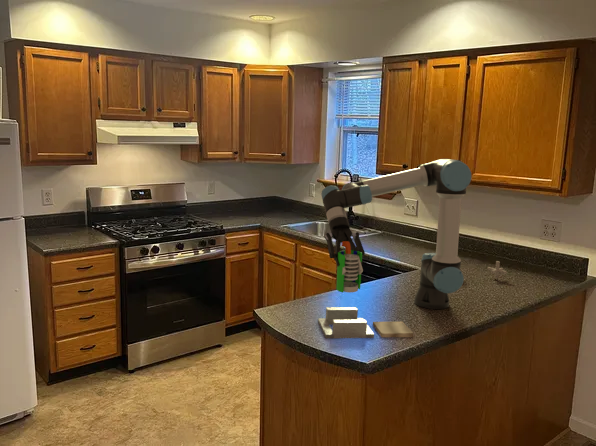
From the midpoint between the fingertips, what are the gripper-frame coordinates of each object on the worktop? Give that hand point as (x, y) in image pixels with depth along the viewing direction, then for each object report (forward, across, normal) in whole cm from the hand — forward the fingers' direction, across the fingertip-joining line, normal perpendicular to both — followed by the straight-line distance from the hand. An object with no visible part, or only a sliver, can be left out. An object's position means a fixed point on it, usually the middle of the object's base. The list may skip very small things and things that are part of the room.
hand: (352, 272), depth 193 cm
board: (+18, -17, -15) cm, 29 cm away
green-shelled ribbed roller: (+3, 0, -8) cm, 8 cm away
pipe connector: (-20, -107, -54) cm, 122 cm away
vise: (+13, 0, -20) cm, 24 cm away
